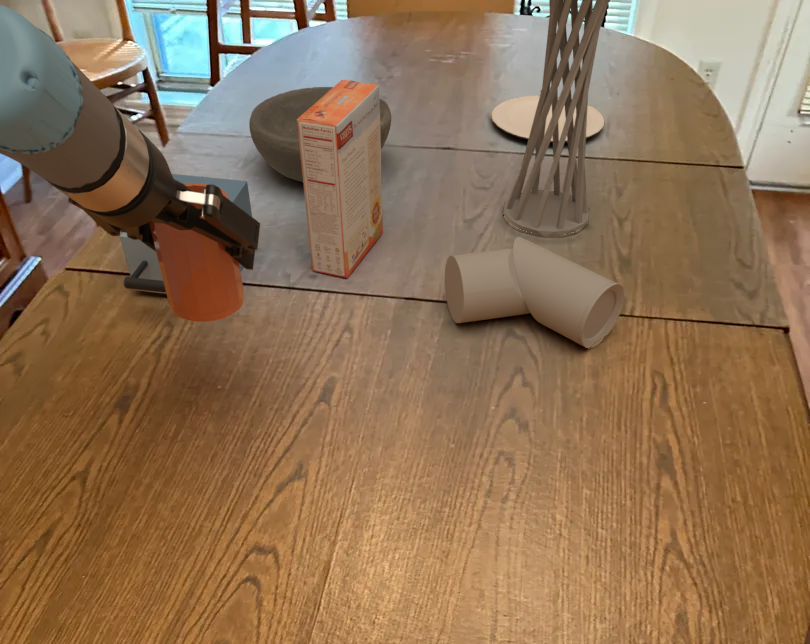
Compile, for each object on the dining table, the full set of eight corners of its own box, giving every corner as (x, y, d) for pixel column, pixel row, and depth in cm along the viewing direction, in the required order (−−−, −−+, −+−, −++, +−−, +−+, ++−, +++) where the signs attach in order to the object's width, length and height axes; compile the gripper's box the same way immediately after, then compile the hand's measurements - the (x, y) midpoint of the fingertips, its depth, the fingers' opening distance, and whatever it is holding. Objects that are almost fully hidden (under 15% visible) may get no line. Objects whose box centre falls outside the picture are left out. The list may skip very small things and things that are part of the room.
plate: (565, 97, 155) (566, 88, 154) (625, 138, 143) (627, 128, 141) (471, 113, 149) (471, 103, 148) (525, 157, 137) (526, 147, 136)
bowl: (293, 135, 142) (288, 74, 135) (409, 155, 137) (410, 93, 129) (230, 188, 128) (220, 124, 120) (356, 214, 123) (354, 148, 115)
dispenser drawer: (200, 323, 101) (188, 268, 96) (116, 313, 103) (100, 258, 97) (245, 249, 114) (237, 196, 108) (171, 241, 115) (159, 188, 109)
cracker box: (347, 227, 120) (340, 76, 104) (384, 234, 119) (382, 83, 103) (308, 272, 112) (294, 115, 96) (347, 280, 110) (339, 123, 94)
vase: (535, 187, 129) (572, -77, 103) (605, 214, 124) (662, -59, 97) (485, 217, 123) (510, -58, 96) (556, 247, 117) (604, -37, 91)
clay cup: (158, 317, 83) (132, 217, 75) (185, 277, 88) (164, 180, 80) (231, 325, 82) (212, 225, 74) (254, 285, 87) (239, 187, 79)
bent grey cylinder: (575, 266, 111) (439, 284, 107) (596, 202, 102) (448, 219, 98) (620, 361, 103) (475, 383, 99) (647, 301, 94) (488, 323, 90)
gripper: (239, 127, 61) (310, 226, 83) (-11, 106, 63) (124, 208, 85) (228, 226, 61) (301, 298, 84) (-19, 201, 64) (117, 277, 86)
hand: (211, 252), depth 85 cm, fingers closed on clay cup, 8 cm apart
